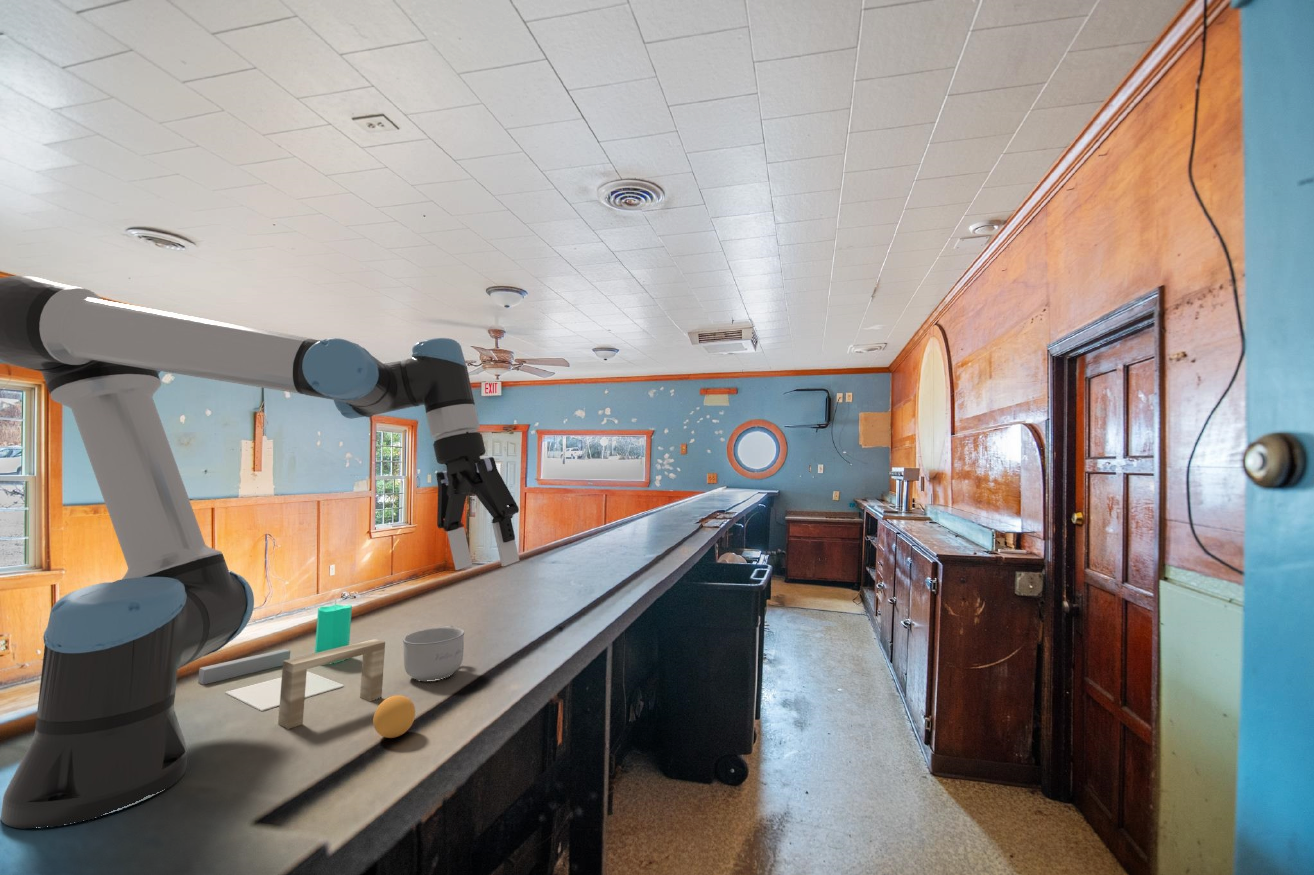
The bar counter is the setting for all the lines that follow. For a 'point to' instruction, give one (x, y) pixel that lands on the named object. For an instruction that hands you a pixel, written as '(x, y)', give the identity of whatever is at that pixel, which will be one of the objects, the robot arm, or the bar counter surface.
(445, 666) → the teacup
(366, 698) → the bridge
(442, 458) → the robot arm
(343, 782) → the bar counter surface
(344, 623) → the candle
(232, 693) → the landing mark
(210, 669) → the stopper
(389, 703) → the ball
